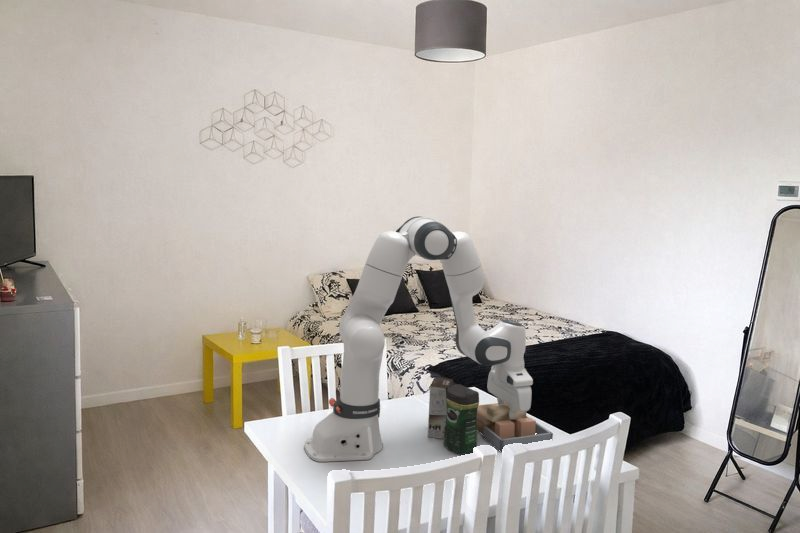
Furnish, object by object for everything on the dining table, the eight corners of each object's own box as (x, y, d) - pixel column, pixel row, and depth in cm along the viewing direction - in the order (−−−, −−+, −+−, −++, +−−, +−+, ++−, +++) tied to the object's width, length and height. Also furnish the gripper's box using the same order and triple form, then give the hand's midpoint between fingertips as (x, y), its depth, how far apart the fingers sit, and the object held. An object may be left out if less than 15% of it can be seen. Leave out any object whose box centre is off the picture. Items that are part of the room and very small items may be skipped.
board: (485, 436, 193) (485, 424, 193) (462, 418, 207) (463, 407, 206) (529, 430, 199) (530, 418, 198) (505, 413, 213) (506, 402, 212)
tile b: (515, 435, 194) (520, 438, 191) (516, 419, 194) (521, 422, 191) (529, 433, 196) (535, 436, 193) (530, 417, 195) (535, 420, 193)
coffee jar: (481, 451, 183) (484, 389, 180) (460, 457, 178) (463, 394, 176) (459, 439, 191) (462, 380, 188) (439, 445, 186) (441, 384, 184)
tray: (500, 452, 183) (501, 440, 182) (483, 437, 193) (483, 426, 192) (552, 444, 189) (552, 433, 189) (532, 430, 199) (533, 420, 199)
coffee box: (448, 439, 190) (450, 388, 188) (427, 437, 192) (429, 386, 189) (451, 428, 199) (454, 378, 197) (431, 425, 200) (433, 376, 198)
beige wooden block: (492, 422, 193) (492, 410, 192) (486, 418, 196) (487, 407, 196) (526, 418, 197) (526, 407, 197) (519, 414, 200) (520, 403, 200)
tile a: (494, 437, 192) (499, 441, 189) (495, 421, 191) (500, 425, 188) (508, 435, 193) (514, 439, 191) (509, 420, 193) (514, 423, 190)
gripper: (483, 363, 203) (481, 404, 205) (517, 383, 184) (515, 428, 186) (500, 361, 205) (498, 402, 207) (536, 381, 186) (533, 426, 188)
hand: (506, 415), depth 197 cm, fingers closed on beige wooden block, 4 cm apart
